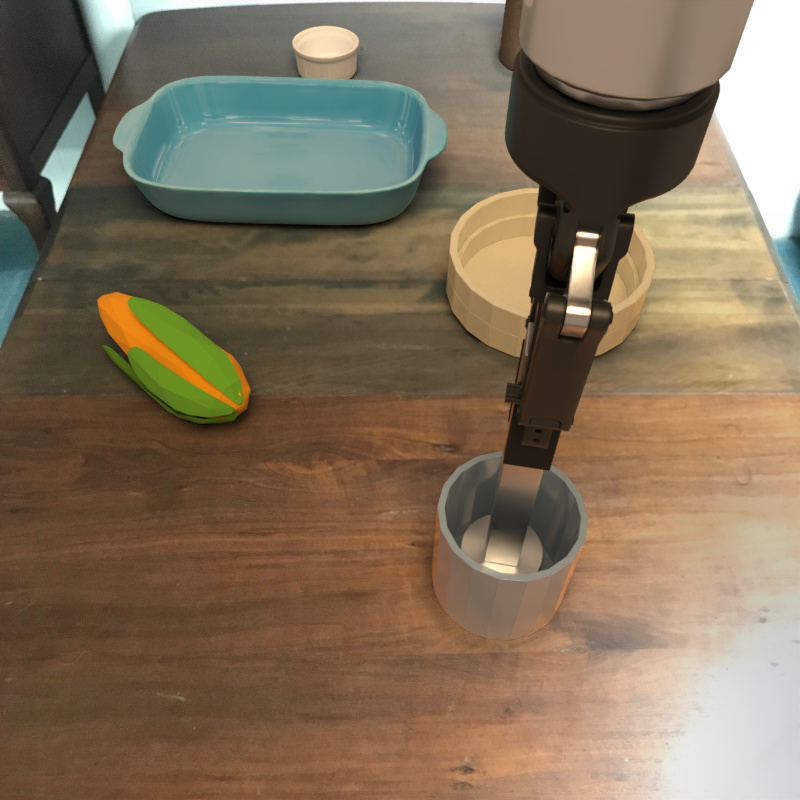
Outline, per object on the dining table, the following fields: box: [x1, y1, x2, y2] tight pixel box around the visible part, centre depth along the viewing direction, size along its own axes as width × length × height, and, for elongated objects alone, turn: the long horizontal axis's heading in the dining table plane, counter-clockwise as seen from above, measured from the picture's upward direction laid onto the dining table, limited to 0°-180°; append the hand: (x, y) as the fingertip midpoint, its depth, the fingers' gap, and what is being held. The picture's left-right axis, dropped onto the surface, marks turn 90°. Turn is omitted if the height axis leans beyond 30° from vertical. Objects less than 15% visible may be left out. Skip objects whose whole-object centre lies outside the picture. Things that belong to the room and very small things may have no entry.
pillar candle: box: [498, 0, 523, 71], centre depth 106 cm, size 10×10×15 cm
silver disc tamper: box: [460, 322, 543, 575], centre depth 50 cm, size 6×6×24 cm
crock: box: [431, 450, 589, 641], centre depth 57 cm, size 10×10×10 cm
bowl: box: [445, 187, 656, 359], centre depth 79 cm, size 20×20×6 cm
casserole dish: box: [112, 75, 448, 226], centre depth 90 cm, size 37×22×7 cm, turn 87°
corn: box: [96, 291, 252, 425], centre depth 71 cm, size 7×8×20 cm
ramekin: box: [291, 25, 360, 79], centre depth 107 cm, size 9×9×4 cm
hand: (528, 440), depth 47 cm, fingers closed on silver disc tamper, 2 cm apart
